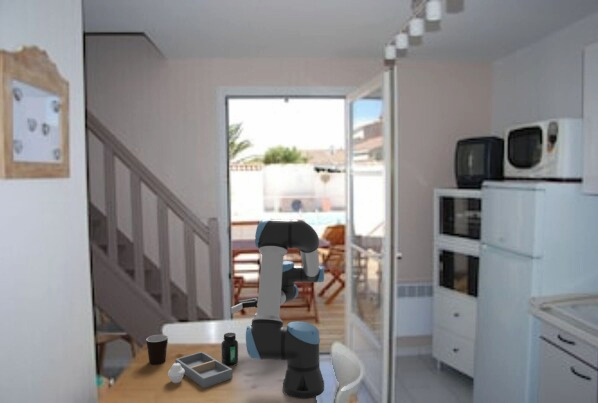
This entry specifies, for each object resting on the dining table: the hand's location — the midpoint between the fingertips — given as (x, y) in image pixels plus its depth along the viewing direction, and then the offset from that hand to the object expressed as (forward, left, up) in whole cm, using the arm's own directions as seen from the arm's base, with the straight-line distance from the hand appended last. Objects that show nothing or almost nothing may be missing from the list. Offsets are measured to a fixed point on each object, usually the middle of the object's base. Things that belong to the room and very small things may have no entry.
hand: (243, 314), depth 181 cm
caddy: (-2, +20, -19) cm, 28 cm away
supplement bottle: (-1, +7, -19) cm, 20 cm away
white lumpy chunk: (-2, +31, -19) cm, 37 cm away
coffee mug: (+21, +28, -19) cm, 40 cm away
